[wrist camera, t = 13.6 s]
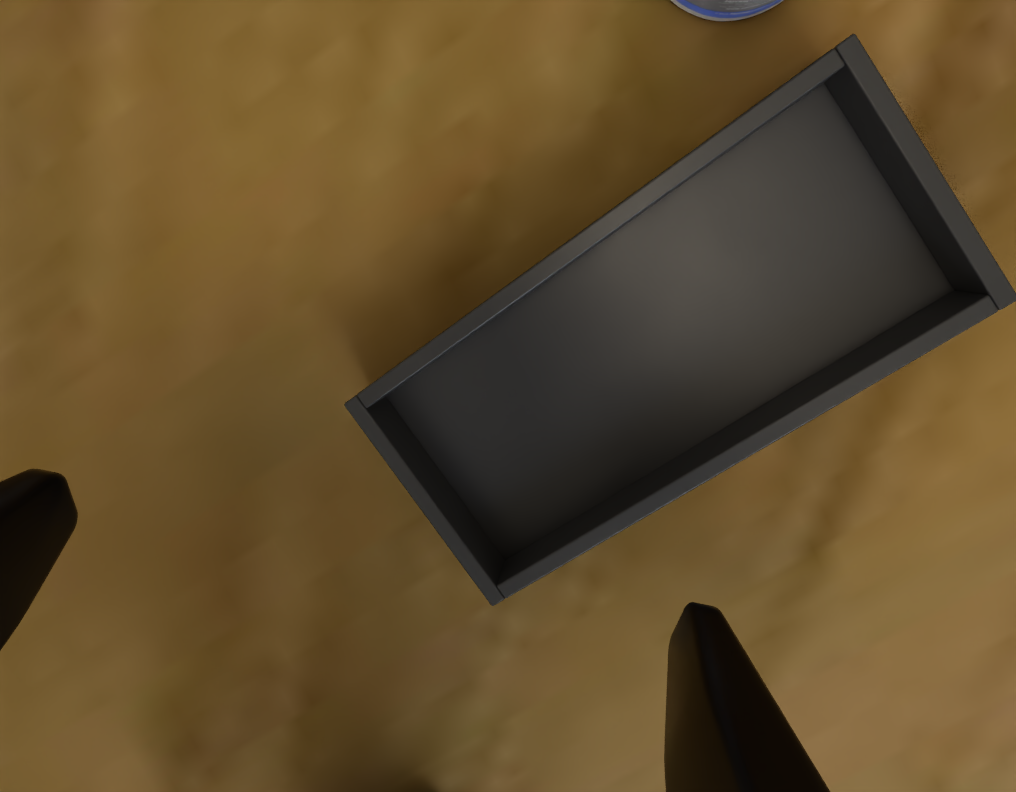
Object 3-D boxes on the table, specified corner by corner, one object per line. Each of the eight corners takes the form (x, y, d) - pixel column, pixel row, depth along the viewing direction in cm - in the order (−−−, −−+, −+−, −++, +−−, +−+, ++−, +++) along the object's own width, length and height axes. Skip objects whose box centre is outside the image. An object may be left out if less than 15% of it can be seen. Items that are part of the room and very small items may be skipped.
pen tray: (825, 58, 18) (855, 32, 16) (971, 293, 18) (1020, 299, 16) (370, 388, 22) (342, 404, 20) (504, 572, 22) (491, 607, 20)
